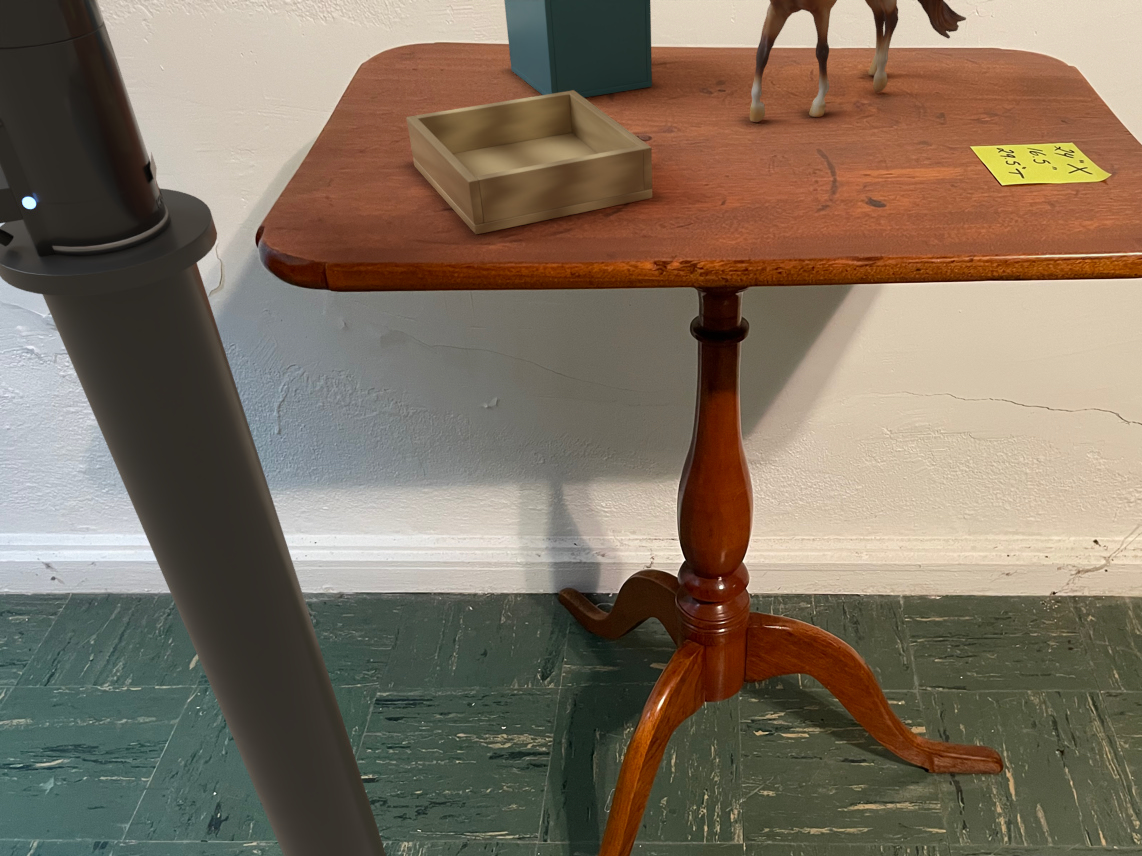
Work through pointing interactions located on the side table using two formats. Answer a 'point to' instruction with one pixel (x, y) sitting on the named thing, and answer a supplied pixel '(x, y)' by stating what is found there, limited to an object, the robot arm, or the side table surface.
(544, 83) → the teal upright container
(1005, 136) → the side table surface
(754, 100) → the horse figurine
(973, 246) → the side table surface
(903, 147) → the side table surface
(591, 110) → the box
